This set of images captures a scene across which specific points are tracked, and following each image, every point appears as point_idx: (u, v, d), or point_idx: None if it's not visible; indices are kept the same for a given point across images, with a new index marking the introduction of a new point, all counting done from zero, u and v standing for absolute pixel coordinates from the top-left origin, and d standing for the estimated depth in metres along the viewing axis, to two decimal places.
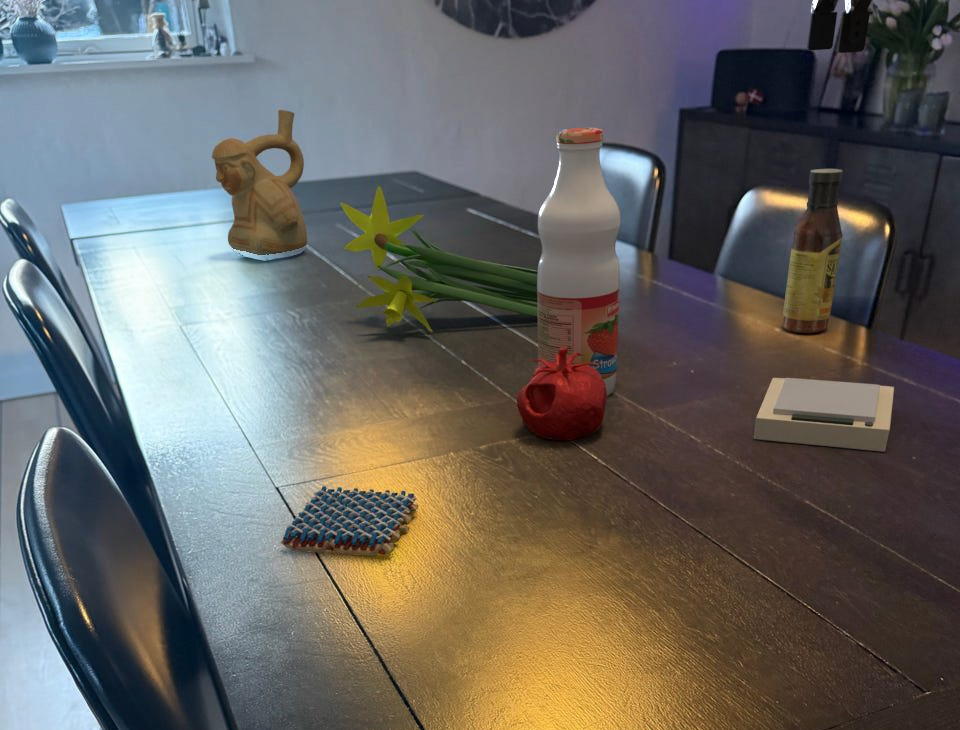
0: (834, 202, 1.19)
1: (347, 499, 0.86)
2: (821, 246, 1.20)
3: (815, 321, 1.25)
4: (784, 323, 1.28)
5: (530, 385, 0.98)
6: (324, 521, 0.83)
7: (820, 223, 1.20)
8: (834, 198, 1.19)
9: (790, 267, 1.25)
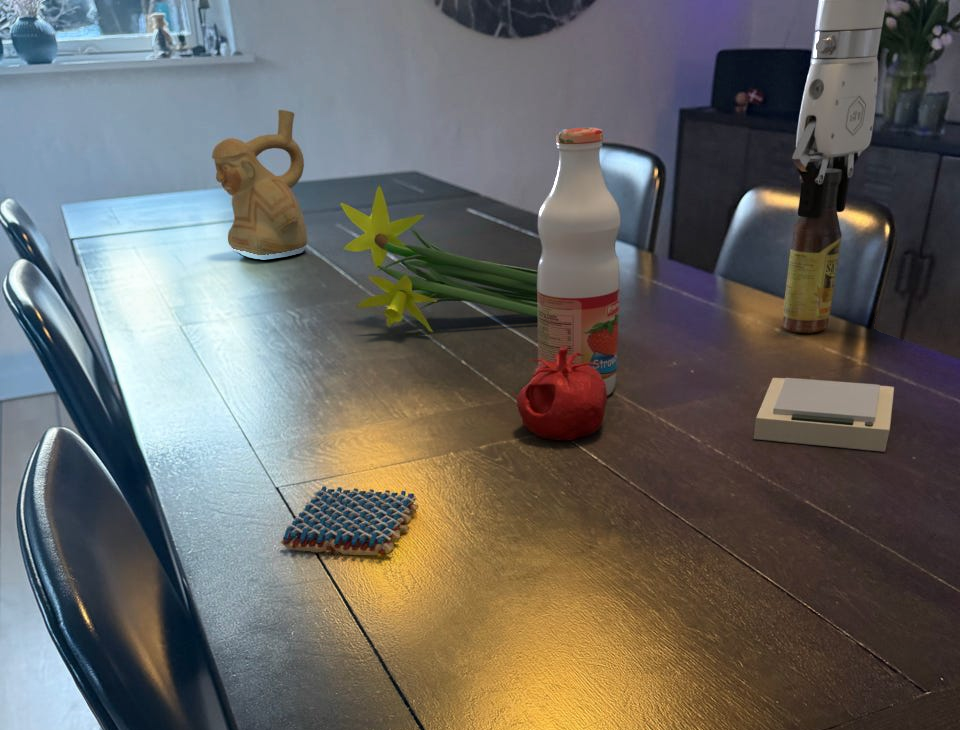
0: (833, 202, 1.19)
1: (347, 499, 0.86)
2: (820, 246, 1.20)
3: (815, 320, 1.25)
4: (784, 323, 1.28)
5: (530, 385, 0.98)
6: (324, 521, 0.83)
7: (819, 223, 1.19)
8: (832, 198, 1.19)
9: (789, 267, 1.24)
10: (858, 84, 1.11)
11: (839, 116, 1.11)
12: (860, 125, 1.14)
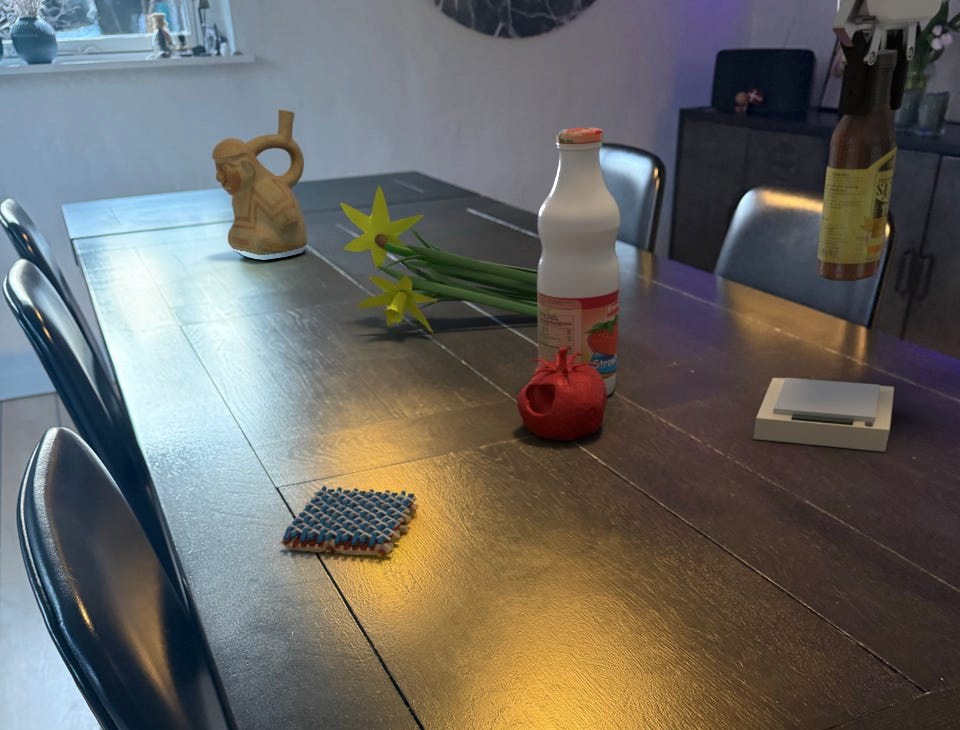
0: (886, 97, 0.86)
1: (347, 499, 0.86)
2: (869, 159, 0.88)
3: (861, 263, 0.93)
4: (819, 269, 0.96)
5: (530, 385, 0.98)
6: (324, 521, 0.83)
7: (866, 127, 0.87)
8: (885, 91, 0.86)
9: (826, 192, 0.92)
10: None
11: None
12: None
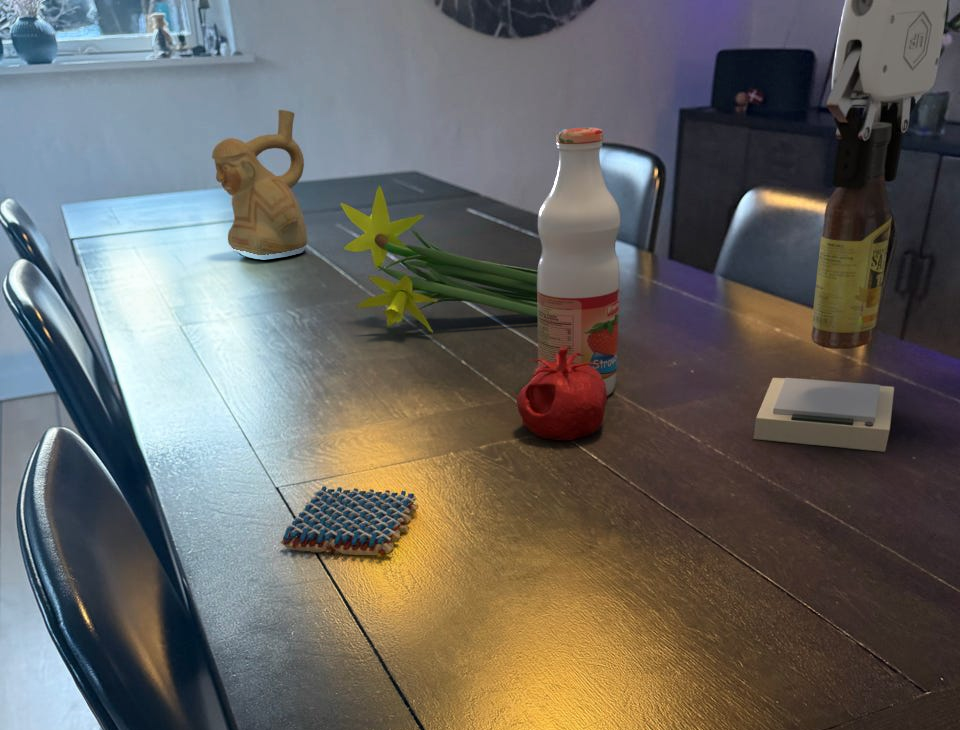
0: (880, 170, 0.86)
1: (347, 499, 0.86)
2: (863, 231, 0.87)
3: (856, 332, 0.93)
4: (814, 336, 0.96)
5: (530, 385, 0.98)
6: (324, 521, 0.83)
7: (860, 199, 0.86)
8: (880, 164, 0.85)
9: (820, 261, 0.91)
10: None
11: (895, 40, 0.77)
12: (923, 55, 0.81)
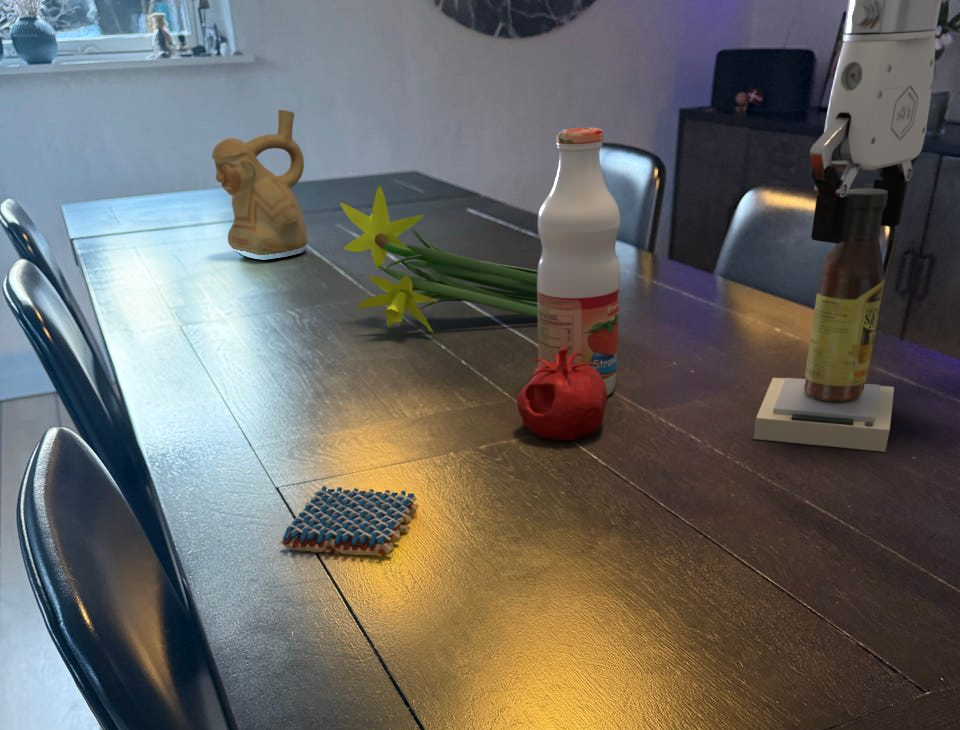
0: (875, 233, 0.89)
1: (347, 499, 0.86)
2: (858, 291, 0.91)
3: (848, 386, 0.96)
4: (806, 388, 0.99)
5: (530, 385, 0.98)
6: (324, 521, 0.83)
7: (856, 260, 0.90)
8: (875, 228, 0.89)
9: (815, 317, 0.95)
10: (909, 70, 0.80)
11: (883, 113, 0.81)
12: (910, 126, 0.84)
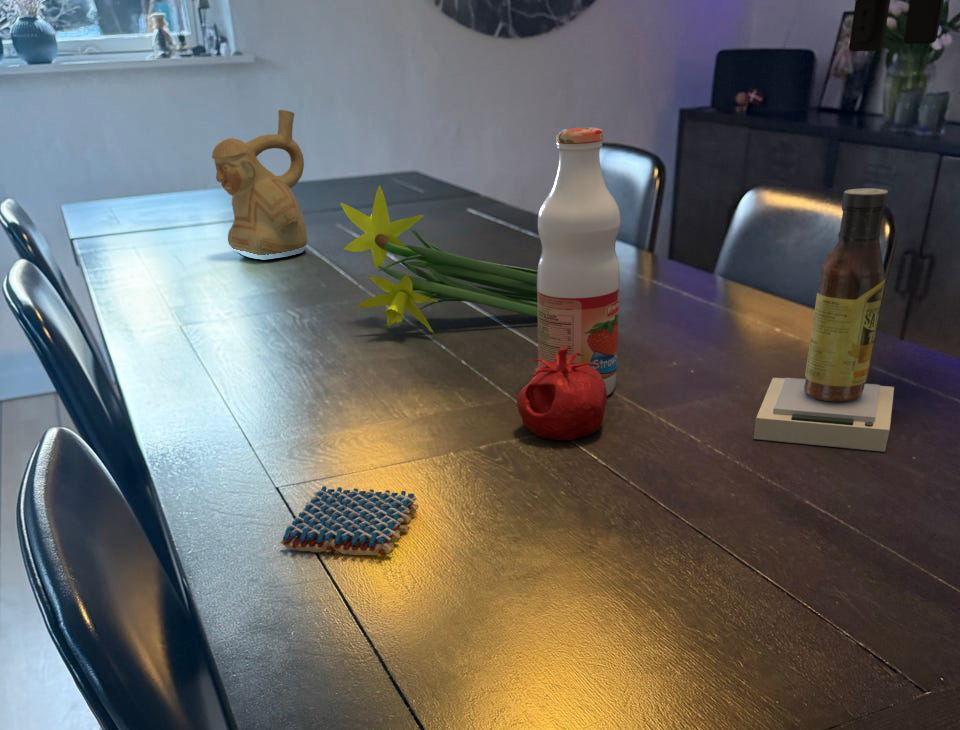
0: (876, 233, 0.89)
1: (347, 499, 0.86)
2: (858, 291, 0.91)
3: (848, 386, 0.96)
4: (806, 388, 0.99)
5: (530, 385, 0.98)
6: (324, 521, 0.83)
7: (856, 260, 0.90)
8: (875, 228, 0.89)
9: (815, 317, 0.95)
10: None
11: None
12: None
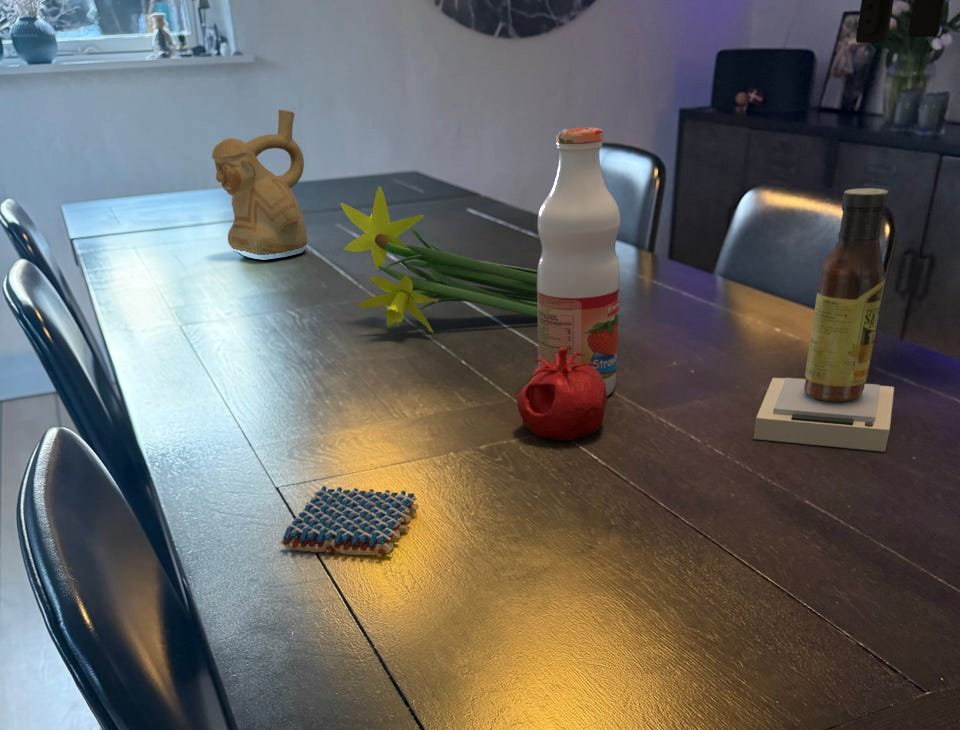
0: (876, 233, 0.89)
1: (347, 499, 0.86)
2: (858, 291, 0.91)
3: (848, 386, 0.96)
4: (806, 388, 0.99)
5: (530, 385, 0.98)
6: (324, 521, 0.83)
7: (856, 260, 0.90)
8: (875, 228, 0.89)
9: (815, 317, 0.95)
10: None
11: None
12: None
